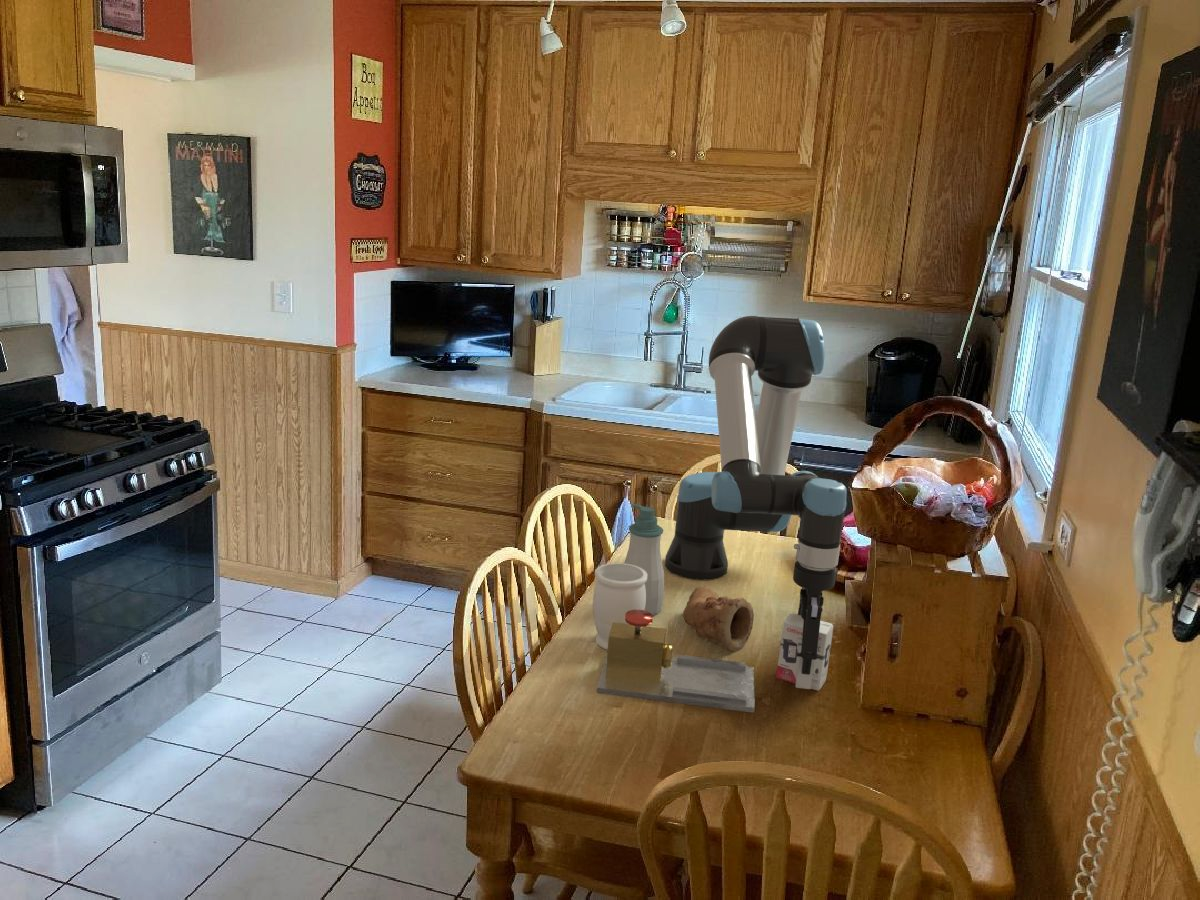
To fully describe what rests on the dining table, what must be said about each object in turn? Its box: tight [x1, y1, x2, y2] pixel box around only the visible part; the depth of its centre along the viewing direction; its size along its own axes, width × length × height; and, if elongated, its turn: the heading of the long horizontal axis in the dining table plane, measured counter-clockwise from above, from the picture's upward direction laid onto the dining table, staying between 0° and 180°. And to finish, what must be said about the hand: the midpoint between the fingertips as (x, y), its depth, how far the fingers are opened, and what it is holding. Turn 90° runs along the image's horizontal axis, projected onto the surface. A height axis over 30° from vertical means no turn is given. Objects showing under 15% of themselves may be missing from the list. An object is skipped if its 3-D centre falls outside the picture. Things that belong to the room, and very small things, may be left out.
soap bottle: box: [623, 503, 665, 617], centre depth 201 cm, size 10×10×23 cm
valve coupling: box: [596, 610, 756, 714], centre depth 173 cm, size 15×28×12 cm, turn 82°
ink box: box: [775, 613, 834, 692], centre depth 177 cm, size 8×5×12 cm, turn 61°
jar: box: [592, 562, 648, 651], centre depth 186 cm, size 11×10×15 cm
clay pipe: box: [682, 585, 755, 652], centre depth 193 cm, size 19×11×15 cm
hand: (801, 675), depth 178 cm, fingers open, 9 cm apart
